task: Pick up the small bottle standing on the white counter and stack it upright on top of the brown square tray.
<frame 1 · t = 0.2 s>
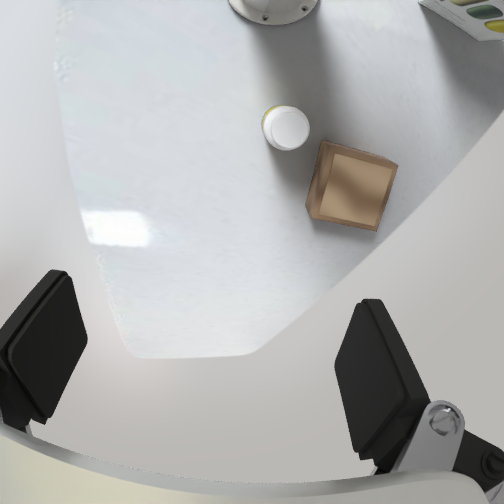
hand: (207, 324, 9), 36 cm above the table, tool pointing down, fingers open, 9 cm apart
supplement bottle: (281, 123, 40), on the table
brown square tray: (345, 180, 43), on the table
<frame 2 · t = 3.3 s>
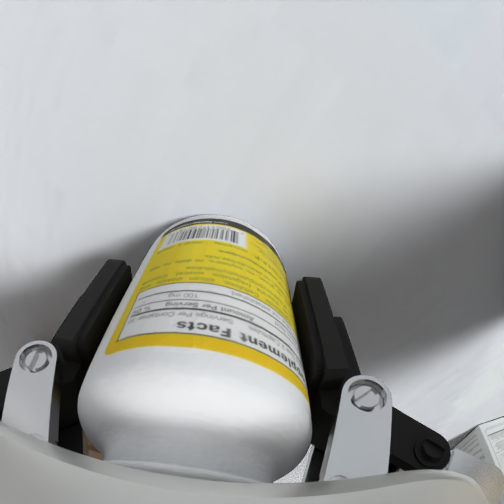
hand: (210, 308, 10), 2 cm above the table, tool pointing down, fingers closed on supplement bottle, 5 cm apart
supplement bottle: (216, 273, 12), on the table, touching gripper
supplement box: (478, 442, 24), on the table
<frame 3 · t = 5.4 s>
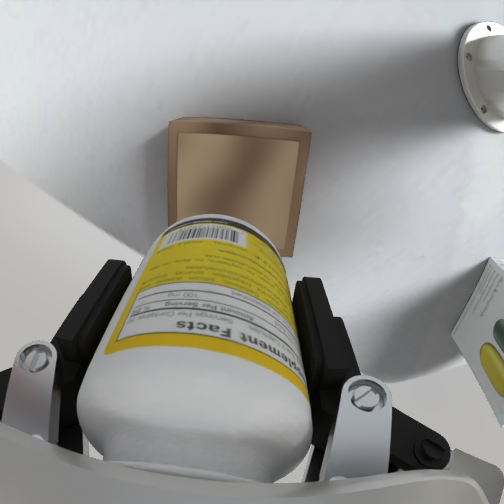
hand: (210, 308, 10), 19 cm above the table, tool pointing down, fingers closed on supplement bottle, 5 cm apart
supplement bottle: (216, 273, 12), point 17 cm above the table, touching gripper
supplement box: (495, 298, 34), on the table
brown square tray: (237, 175, 27), on the table
when the fingers open (8 cm above the table, at t = 7.7 s): supplement bottle drops 1 cm, resting on brown square tray.
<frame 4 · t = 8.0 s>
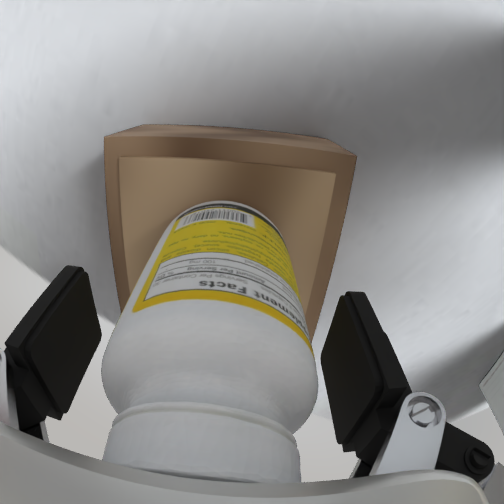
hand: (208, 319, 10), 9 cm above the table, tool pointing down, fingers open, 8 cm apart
supplement bottle: (224, 256, 13), point 5 cm above the table, touching brown square tray
brown square tray: (227, 215, 18), on the table
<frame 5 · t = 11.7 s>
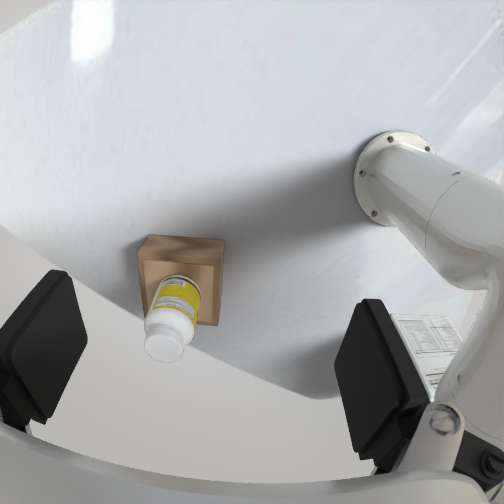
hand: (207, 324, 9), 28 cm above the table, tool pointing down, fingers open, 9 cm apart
supplement bottle: (180, 291, 37), point 5 cm above the table, touching brown square tray
supplement box: (405, 341, 49), on the table
brown square tray: (185, 270, 42), on the table
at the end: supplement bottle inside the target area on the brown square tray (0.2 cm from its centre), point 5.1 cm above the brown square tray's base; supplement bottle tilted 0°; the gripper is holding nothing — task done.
